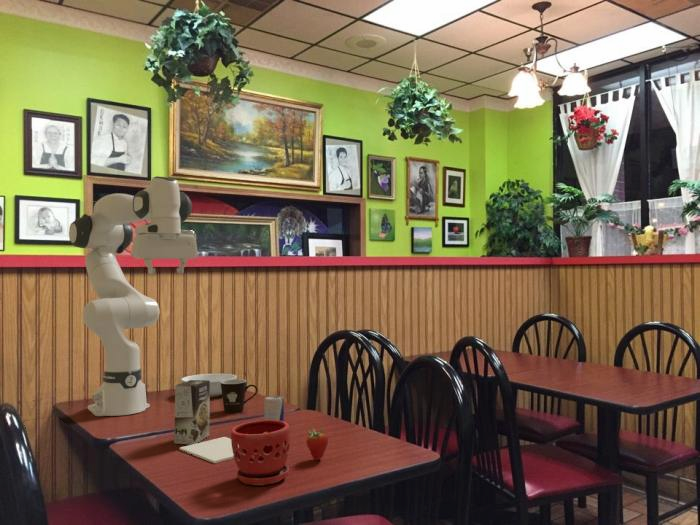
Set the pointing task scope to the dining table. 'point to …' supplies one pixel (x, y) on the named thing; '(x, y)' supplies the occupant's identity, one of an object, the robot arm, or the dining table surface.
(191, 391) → the coffee box
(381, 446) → the dining table surface
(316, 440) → the fruit
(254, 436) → the plant pot
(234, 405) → the coffee mug
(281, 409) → the energy drink
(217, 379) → the serving bowl
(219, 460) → the mat
